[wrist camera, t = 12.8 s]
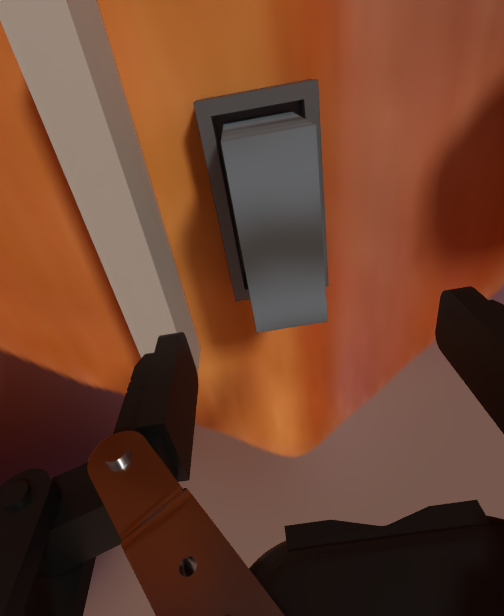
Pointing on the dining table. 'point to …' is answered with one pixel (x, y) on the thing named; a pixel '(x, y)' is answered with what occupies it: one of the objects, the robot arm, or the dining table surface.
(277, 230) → the block
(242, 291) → the cradle
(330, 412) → the dining table surface
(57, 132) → the door board
